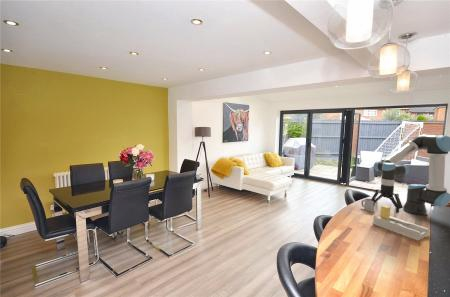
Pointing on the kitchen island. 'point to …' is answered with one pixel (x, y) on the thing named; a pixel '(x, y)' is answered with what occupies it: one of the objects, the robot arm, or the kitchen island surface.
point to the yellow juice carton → (385, 212)
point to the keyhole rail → (402, 227)
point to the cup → (368, 204)
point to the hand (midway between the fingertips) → (385, 213)
